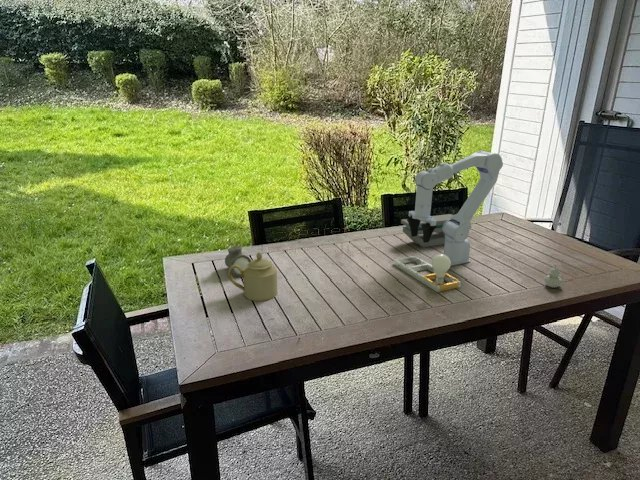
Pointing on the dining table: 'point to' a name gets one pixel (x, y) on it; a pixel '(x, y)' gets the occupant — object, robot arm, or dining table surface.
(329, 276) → the dining table surface
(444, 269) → the lightbulb
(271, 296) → the sugar bowl
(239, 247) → the pipe fitting
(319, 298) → the dining table surface
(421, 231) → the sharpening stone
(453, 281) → the rack
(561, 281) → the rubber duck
